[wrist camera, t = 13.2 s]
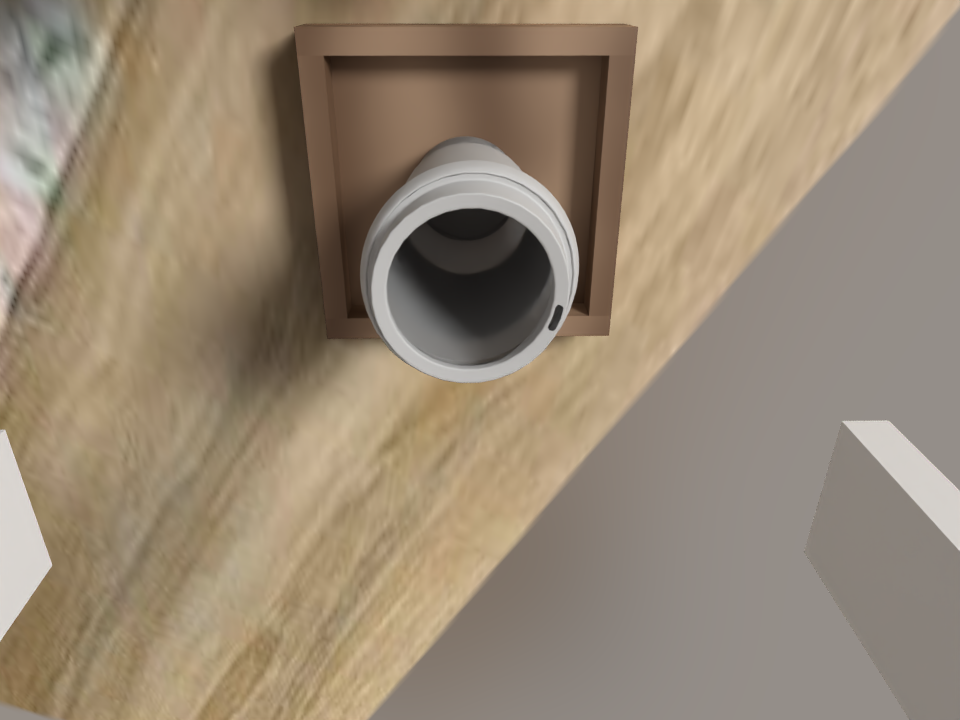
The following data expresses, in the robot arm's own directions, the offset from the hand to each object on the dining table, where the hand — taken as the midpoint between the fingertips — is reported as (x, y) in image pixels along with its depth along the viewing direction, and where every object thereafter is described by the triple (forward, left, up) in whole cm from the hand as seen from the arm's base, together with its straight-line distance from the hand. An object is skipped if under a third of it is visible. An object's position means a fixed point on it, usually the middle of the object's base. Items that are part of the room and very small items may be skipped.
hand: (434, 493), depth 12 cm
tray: (+1, 0, -23) cm, 23 cm away
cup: (+1, -1, -22) cm, 22 cm away
